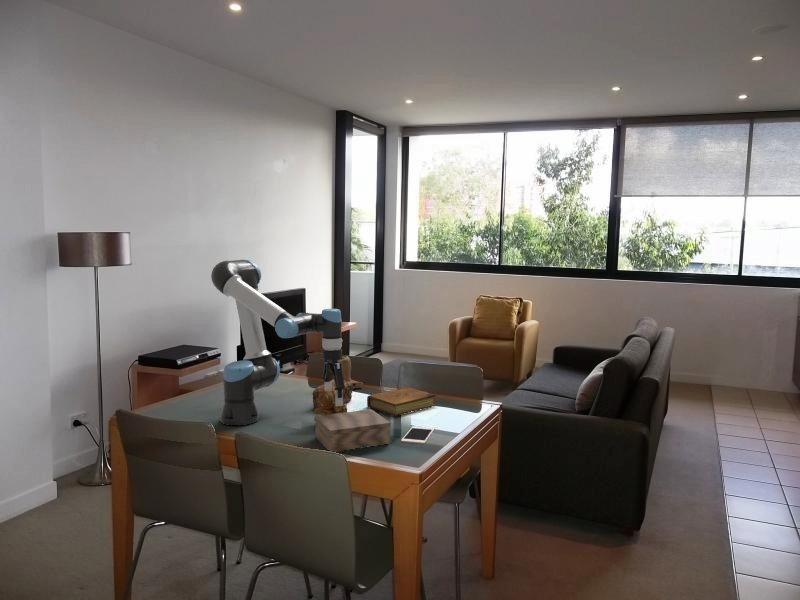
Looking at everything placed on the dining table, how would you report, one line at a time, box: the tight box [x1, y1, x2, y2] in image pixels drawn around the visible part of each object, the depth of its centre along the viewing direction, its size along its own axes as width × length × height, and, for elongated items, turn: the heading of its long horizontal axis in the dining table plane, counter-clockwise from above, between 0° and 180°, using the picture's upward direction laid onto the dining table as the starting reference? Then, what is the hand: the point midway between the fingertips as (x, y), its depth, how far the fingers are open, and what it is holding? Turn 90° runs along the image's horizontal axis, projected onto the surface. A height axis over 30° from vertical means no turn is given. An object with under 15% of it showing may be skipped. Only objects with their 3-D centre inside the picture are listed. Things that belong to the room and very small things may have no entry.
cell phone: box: [400, 425, 436, 445], centre depth 239 cm, size 9×18×1 cm, turn 165°
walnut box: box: [313, 408, 391, 453], centre depth 232 cm, size 23×19×8 cm
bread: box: [312, 378, 353, 409], centre depth 280 cm, size 19×11×10 cm, turn 156°
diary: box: [366, 386, 436, 417], centre depth 277 cm, size 23×19×6 cm
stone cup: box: [338, 355, 364, 390], centre depth 310 cm, size 15×12×15 cm
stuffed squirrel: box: [314, 390, 348, 426], centre depth 252 cm, size 10×14×13 cm
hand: (333, 401), depth 251 cm, fingers open, 13 cm apart
